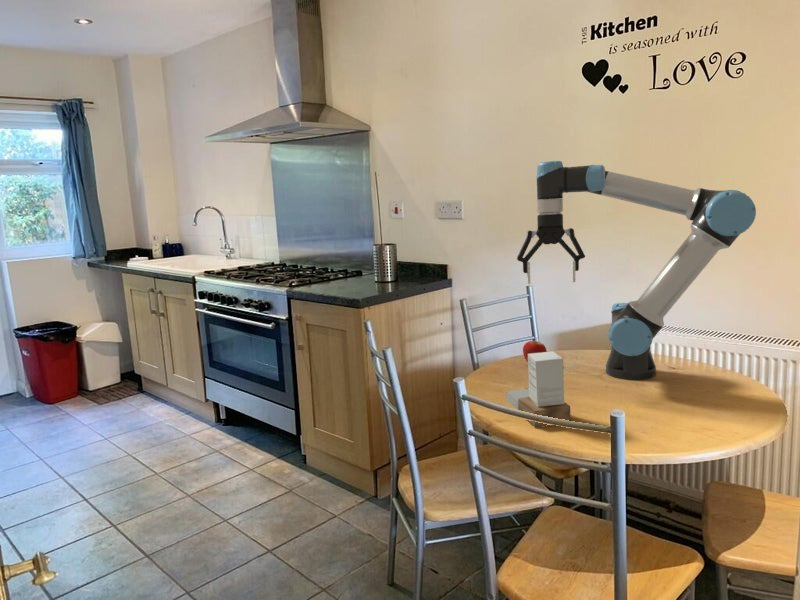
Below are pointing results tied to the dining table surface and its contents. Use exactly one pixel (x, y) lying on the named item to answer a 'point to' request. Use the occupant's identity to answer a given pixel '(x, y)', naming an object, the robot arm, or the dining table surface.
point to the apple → (533, 348)
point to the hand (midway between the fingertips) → (550, 282)
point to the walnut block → (544, 410)
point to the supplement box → (546, 379)
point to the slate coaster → (517, 396)
